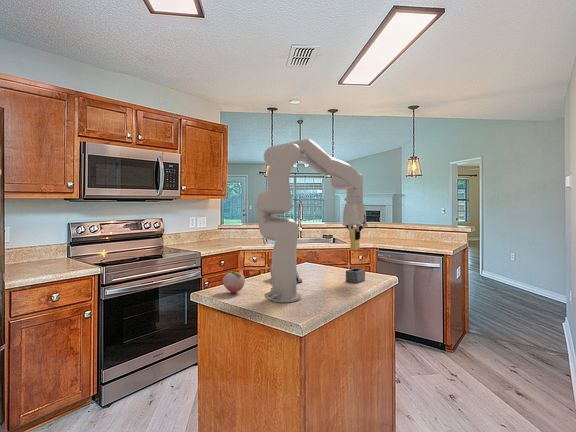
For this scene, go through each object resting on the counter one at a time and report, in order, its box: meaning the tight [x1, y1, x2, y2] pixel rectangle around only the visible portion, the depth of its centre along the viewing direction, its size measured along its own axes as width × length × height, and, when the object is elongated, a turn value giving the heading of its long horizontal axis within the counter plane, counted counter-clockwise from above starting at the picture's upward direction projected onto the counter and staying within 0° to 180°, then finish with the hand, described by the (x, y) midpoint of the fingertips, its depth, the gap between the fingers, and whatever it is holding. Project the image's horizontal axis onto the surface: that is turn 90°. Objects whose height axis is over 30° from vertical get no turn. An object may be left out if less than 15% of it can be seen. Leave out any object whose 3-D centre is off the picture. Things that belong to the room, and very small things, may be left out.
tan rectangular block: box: [349, 226, 361, 251], centre depth 159 cm, size 4×2×10 cm, turn 142°
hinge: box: [269, 264, 303, 283], centre depth 161 cm, size 17×5×10 cm, turn 45°
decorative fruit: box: [222, 268, 246, 294], centre depth 140 cm, size 9×8×10 cm
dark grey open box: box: [345, 267, 366, 284], centre depth 160 cm, size 8×6×5 cm
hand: (354, 239), depth 159 cm, fingers closed on tan rectangular block, 2 cm apart
